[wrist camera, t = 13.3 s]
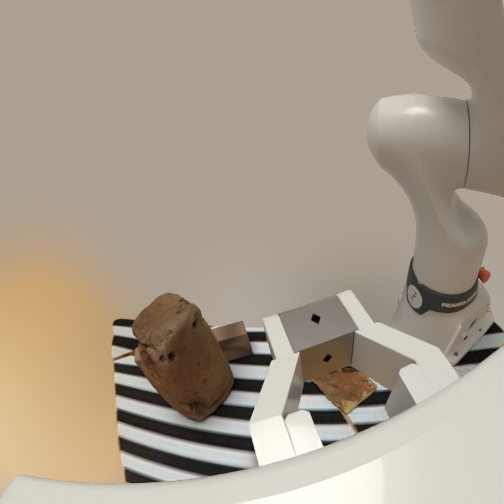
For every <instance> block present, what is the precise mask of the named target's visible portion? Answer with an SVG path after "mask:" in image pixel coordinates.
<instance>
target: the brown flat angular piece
mask: <svg viewBox="0 0 504 504" xmlns="http://www.w3.org/2000/svg"><path fill="white" fill-rule="evenodd" d="M311 381H313V382H314V383H315V384H317V385H318V387H319V388H320V390H321V391H322V392H324V393H325V394H326V396H327V397H328V398H329V399H331V401H332V402H333V403H334V404H335V405H336V406H338V407H339V408H340V409H341V410H342V411H343V412H345V414H349V413H350V412H351V411H352V410H353V409H354V408H355V407H356V406H357V405H358V404H359V403H361V402H362V401H363V400H365V399H366V398H367V397H368V396H369V395H371V394H372V393H373V392H374V391H375V389H376V388H377V385H376V384H375V383H374V382H372V381H371V380H370V379H369V378H368V377H367V376H366V375H365V374H363V373H362V372H360V371H358V370H357V369H355V368H353V369H338V370H335V371H332V372H329V373H326V374H324V375H321V376H319V377H316V378H314V379H311Z"/></svg>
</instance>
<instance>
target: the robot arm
mask: <svg viewBox="0 0 504 504" xmlns="http://www.w3.org/2000/svg"><path fill="white" fill-rule="evenodd" d="M409 1H410V5H411V10H412V15H413V20H414V26H415V32H416V37H417V40H418V42H419V44H420V46H421V47H422V49H423V50H424V51H425V53H426V54H427V55H428V56H429V57H431V58H432V59H433V60H435V61H436V62H437V63H439V64H440V65H442V66H443V67H445V68H447V69H448V70H450V71H452V72H453V73H455V74H457V75H458V76H460V77H461V78H463V79H464V80H465V81H466V82H467V83H468V84H469V85H470V86H471V89H472V98H471V99H470V100H460V99H454V98H447V97H440V96H433V95H424V94H407V95H397V96H390V97H384V98H381V99H380V100H379V101H378V103H377V104H376V105H375V106H374V108H373V109H372V111H371V113H370V116H369V119H368V124H367V139H368V144H369V148H370V150H371V153H372V155H373V157H374V158H375V160H376V161H377V163H378V164H379V165H380V166H381V168H383V169H384V170H385V171H386V172H388V173H389V174H390V175H391V176H392V177H393V178H394V179H395V180H396V181H397V182H398V183H399V185H400V186H401V187H402V189H403V190H404V192H405V193H406V195H407V197H408V198H409V200H410V202H411V205H412V207H413V210H414V213H415V219H416V242H415V252H414V256H413V257H412V260H411V262H410V265H409V271H408V277H407V282H406V285H405V288H404V291H403V293H401V294H400V296H399V299H398V308H397V310H396V312H395V314H394V316H393V318H392V322H391V327H389V326H387V325H385V324H382V323H380V322H377V323H374V322H373V320H372V319H371V318H370V316H369V315H368V314H367V312H366V311H365V309H364V308H363V306H362V305H361V303H360V302H359V301H358V299H357V298H356V296H355V295H354V294H353V292H352V291H350V290H348V291H345V292H342V293H339V294H336V295H333V296H330V297H327V298H325V299H322V300H319V301H316V302H313V303H310V304H308V305H306V306H303V307H299V308H296V309H293V310H289V311H286V312H282V313H279V314H276V315H273V316H269V317H266V318H263V319H262V321H263V325H264V329H265V333H266V337H267V341H268V344H269V348H270V351H271V355H272V358H273V360H272V361H271V364H270V367H269V370H268V372H267V375H266V378H265V381H264V384H263V387H262V389H261V392H260V395H259V398H258V400H257V403H256V406H255V409H254V411H253V414H252V417H251V419H250V422H249V428H250V432H251V436H252V440H253V444H254V448H255V452H256V455H257V459H258V463H259V466H258V467H254V468H250V469H245V470H241V471H236V472H231V473H226V474H220V475H215V476H209V477H202V478H195V479H187V480H178V481H168V482H155V483H132V484H105V483H104V484H103V483H84V482H71V481H61V480H53V479H45V478H39V477H33V476H27V475H17V476H16V477H14V478H13V480H12V481H11V482H10V483H9V485H8V486H7V487H6V489H5V490H4V492H3V493H2V495H1V496H0V504H504V345H503V346H502V347H500V348H499V349H498V350H497V351H495V352H494V353H493V354H492V355H490V356H489V357H488V358H486V359H485V360H484V361H482V362H481V363H480V364H478V365H477V366H476V367H474V368H473V369H472V370H470V371H469V372H467V373H466V374H464V375H463V376H461V377H459V376H458V374H457V373H456V371H455V370H454V368H453V367H452V366H454V365H455V364H457V363H458V362H459V361H460V360H461V359H462V358H463V357H464V355H465V354H466V353H467V352H468V351H469V350H470V349H471V348H472V347H473V346H474V345H475V344H476V343H477V342H478V340H479V339H480V338H481V337H482V336H483V335H484V334H485V333H486V331H487V330H488V329H489V328H490V327H491V325H492V324H493V321H494V318H493V314H492V312H491V309H490V308H489V305H490V297H489V294H488V292H487V290H486V289H485V287H484V286H483V285H482V284H481V283H480V282H479V281H478V278H480V280H481V281H482V282H483V283H485V282H487V281H488V279H489V277H490V273H489V272H488V271H486V270H485V268H484V267H481V264H482V261H483V257H484V254H485V251H486V247H487V243H488V235H487V230H486V227H485V224H484V222H483V221H482V219H481V218H480V217H479V215H478V214H477V213H476V212H475V211H474V210H473V209H472V208H471V207H469V206H468V205H467V204H466V203H464V202H463V201H462V200H461V199H460V198H459V197H458V195H457V194H456V192H455V190H456V189H458V188H466V189H470V190H475V191H480V192H484V193H489V194H493V195H497V196H501V197H504V9H503V3H502V0H409ZM480 267H481V268H480ZM454 354H456V355H457V356H455V355H454ZM349 365H351V366H352V367H354V368H355V369H357V370H358V371H360V372H362V373H363V374H365V375H366V376H368V377H370V378H371V379H373V380H374V381H376V382H378V383H379V384H381V385H382V386H384V387H386V388H387V389H389V390H391V391H392V392H391V394H390V396H389V399H388V401H387V403H386V406H385V410H386V412H387V413H388V415H389V417H390V419H388V420H386V421H384V422H382V423H379V424H377V425H375V426H373V427H371V428H369V429H366V430H364V431H362V432H360V433H357V434H355V435H353V436H350V437H348V438H345V439H343V440H340V441H338V442H335V443H333V444H330V445H327V446H324V447H323V445H322V443H321V440H320V438H319V435H318V433H317V431H316V428H315V426H314V423H313V421H312V418H311V416H310V413H309V412H308V411H304V410H300V411H297V410H298V406H299V402H300V398H301V393H302V389H303V385H304V382H306V381H308V380H311V379H314V378H316V377H319V376H321V375H324V374H326V373H329V372H332V371H335V370H338V369H341V368H343V367H346V366H349Z"/></svg>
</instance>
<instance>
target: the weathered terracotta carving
mask: <svg viewBox="0 0 504 504" xmlns="http://www.w3.org/2000/svg"><path fill="white" fill-rule="evenodd" d="M131 328H132V332H133V335H134V336H135V337H136V338H137V339H138V341H139V355H140V359H141V362H142V369H143V371H144V374H145V376H146V377H147V379H148V380H149V382H150V383H151V384H152V386H153V387H154V388H155V389H156V390H157V392H158V393H159V394H160V395H161V396H162V397H163V398H164V399H165V400H166V401H167V402H168V403H169V404H170V405H171V406H172V407H173V408H174V409H176V410H177V411H178V412H179V413H181V414H182V415H184V416H186V417H188V418H190V419H192V420H196V421H201V420H203V419H204V418H205V417H206V416H208V415H209V414H211V413H212V412H214V411H215V410H216V409H217V408H218V407H219V406H220V404H221V403H222V402H223V401H224V400H225V398H226V397H227V395H228V394H229V392H230V390H231V388H232V386H233V383H234V378H233V374H232V371H231V368H230V366H229V363H228V361H227V359H226V357H225V355H224V354H223V353H222V350H221V348H220V345H219V343H218V341H217V339H216V337H215V336H214V334H213V332H212V330H211V328H210V327H209V325H208V324H207V322H206V321H205V319H203V318H202V314H201V311H200V309H199V308H198V307H197V306H196V305H194V304H192V303H190V302H188V301H187V300H185V299H184V298H183V297H181V296H179V295H177V294H173V293H165V294H163V295H161V296H159V297H157V298H156V299H155V300H154V301H153V302H152V303H151V304H150V305H149V306H148V307H146V308H145V309H144V310H143V311H142V312H141V313H140V314H139V315H138V317H137V318H136V320H135V321H134V323H133V325H132V327H131Z"/></svg>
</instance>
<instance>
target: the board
mask: <svg viewBox="0 0 504 504" xmlns="http://www.w3.org/2000/svg"><path fill="white" fill-rule="evenodd" d="M211 330H212V332H213V334H214V336H215V337H216V339H217V341H218V343H219V345H220V348H221V350H222V353H223V354H224V355H225V357H226V359H227V361H230V360H234V359H237V358H241V357H244V356H248V355H251V354H253V352H252V348H251V345H250V341H249V338H248V335H247V332H246V329H245V326H244V324H243V321H240V322H236V323H233V324H229V325H226V326H222V327H219V328H215V329H211ZM135 363H136V364H137V365H138V366H139V368H140V369H141V370H142V371H143V369H142V362H141V359H140V355H139V348H135ZM143 372H144V371H143Z"/></svg>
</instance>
